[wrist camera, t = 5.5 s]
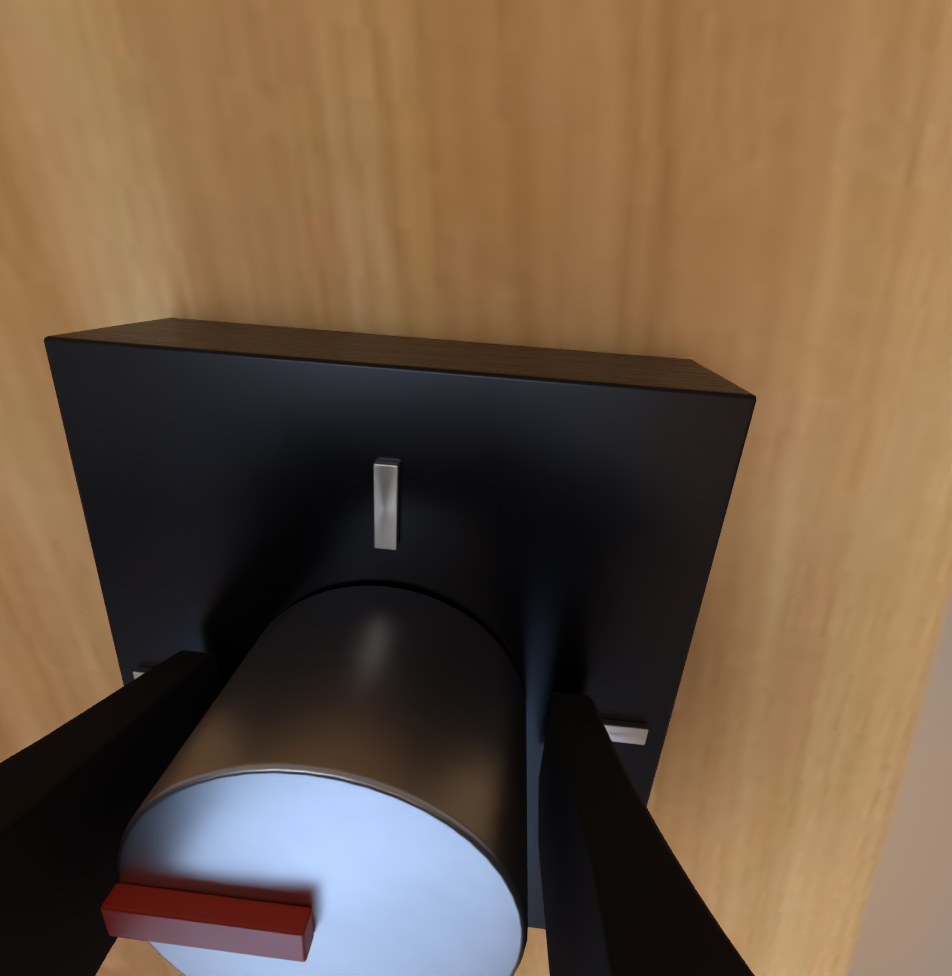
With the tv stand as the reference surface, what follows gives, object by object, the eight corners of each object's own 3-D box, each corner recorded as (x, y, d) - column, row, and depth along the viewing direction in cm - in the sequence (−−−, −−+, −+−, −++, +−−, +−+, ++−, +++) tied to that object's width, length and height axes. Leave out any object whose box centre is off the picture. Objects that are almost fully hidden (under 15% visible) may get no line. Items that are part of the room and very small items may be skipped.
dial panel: (595, 811, 15) (613, 947, 12) (232, 767, 15) (163, 888, 12) (693, 359, 10) (764, 398, 7) (167, 317, 10) (31, 337, 8)
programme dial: (541, 599, 9) (554, 827, 5) (513, 816, 11) (508, 1089, 7) (235, 569, 9) (48, 767, 5) (261, 786, 11) (136, 1037, 7)
